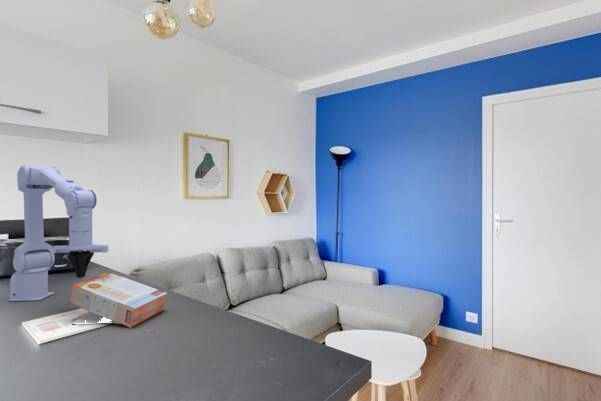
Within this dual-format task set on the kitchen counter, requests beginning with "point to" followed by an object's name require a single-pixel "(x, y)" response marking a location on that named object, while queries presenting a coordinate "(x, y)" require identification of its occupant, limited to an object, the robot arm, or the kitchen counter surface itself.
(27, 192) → the robot arm
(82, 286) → the cracker box
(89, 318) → the white flat panel
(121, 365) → the kitchen counter surface
